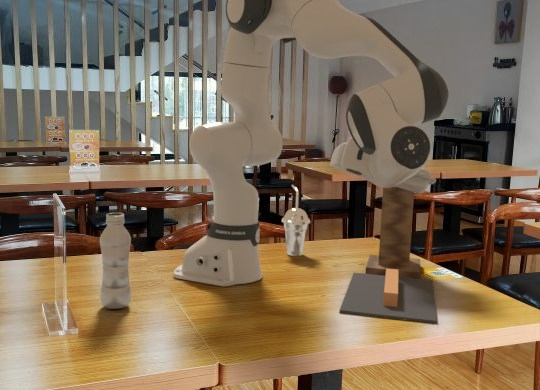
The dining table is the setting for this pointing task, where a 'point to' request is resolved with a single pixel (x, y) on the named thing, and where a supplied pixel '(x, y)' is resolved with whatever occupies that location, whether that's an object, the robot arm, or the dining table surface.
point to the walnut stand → (395, 236)
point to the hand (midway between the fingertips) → (371, 176)
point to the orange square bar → (391, 288)
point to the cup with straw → (295, 228)
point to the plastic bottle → (115, 263)
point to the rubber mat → (372, 296)
